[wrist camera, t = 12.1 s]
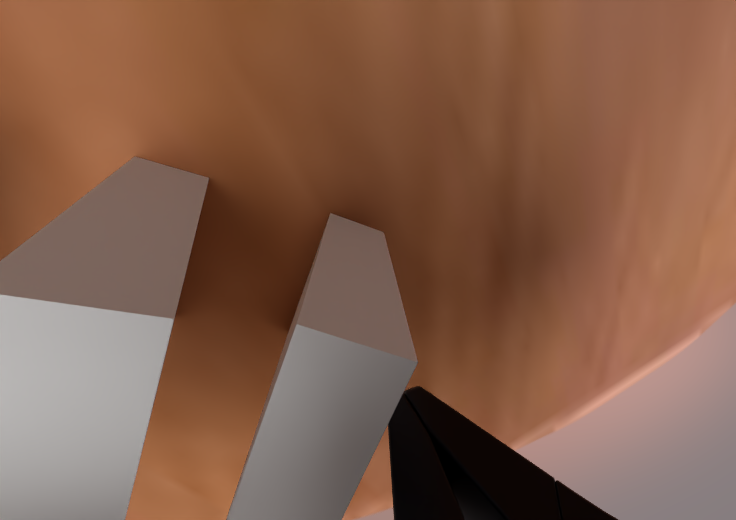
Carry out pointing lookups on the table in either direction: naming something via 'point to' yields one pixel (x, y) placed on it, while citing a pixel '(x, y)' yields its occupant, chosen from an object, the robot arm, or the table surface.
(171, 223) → the domino
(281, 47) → the table surface
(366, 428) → the domino
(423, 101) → the table surface
